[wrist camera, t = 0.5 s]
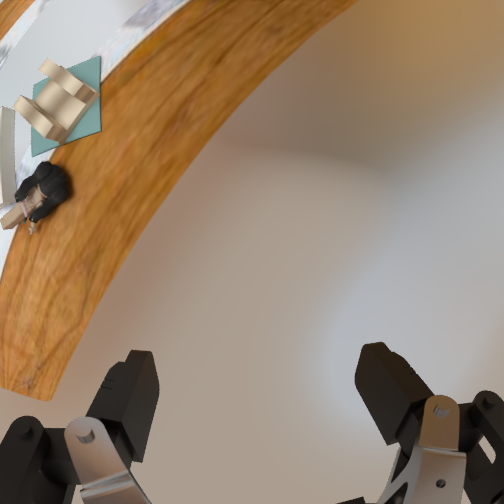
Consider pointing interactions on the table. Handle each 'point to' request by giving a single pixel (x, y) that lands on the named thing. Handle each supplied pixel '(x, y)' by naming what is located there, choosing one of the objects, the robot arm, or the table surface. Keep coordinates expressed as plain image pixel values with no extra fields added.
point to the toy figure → (37, 196)
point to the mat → (92, 117)
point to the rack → (57, 103)
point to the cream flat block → (7, 157)
